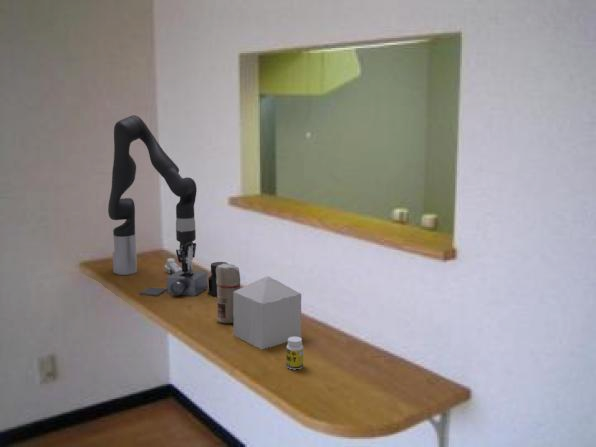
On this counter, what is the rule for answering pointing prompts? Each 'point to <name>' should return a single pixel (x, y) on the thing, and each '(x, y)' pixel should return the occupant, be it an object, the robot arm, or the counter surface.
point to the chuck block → (187, 283)
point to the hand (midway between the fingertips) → (187, 270)
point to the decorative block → (266, 313)
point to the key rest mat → (153, 291)
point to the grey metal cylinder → (189, 265)
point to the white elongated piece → (171, 266)
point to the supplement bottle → (294, 353)
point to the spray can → (226, 291)
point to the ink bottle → (214, 278)
